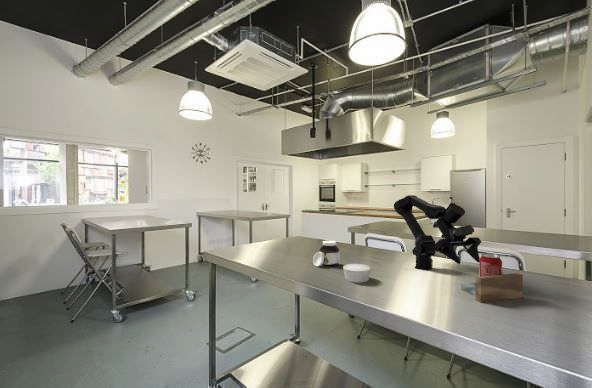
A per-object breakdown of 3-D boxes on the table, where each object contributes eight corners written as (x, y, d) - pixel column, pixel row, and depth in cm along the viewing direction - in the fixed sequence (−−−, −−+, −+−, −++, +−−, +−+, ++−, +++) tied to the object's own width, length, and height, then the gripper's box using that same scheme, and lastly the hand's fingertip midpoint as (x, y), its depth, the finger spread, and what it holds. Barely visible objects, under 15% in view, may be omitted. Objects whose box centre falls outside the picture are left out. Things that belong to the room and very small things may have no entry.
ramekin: (338, 279, 114) (338, 267, 114) (352, 273, 122) (352, 262, 122) (362, 286, 107) (362, 272, 107) (375, 279, 115) (375, 266, 115)
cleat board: (453, 290, 102) (453, 268, 102) (491, 286, 106) (492, 265, 106) (480, 302, 91) (480, 278, 91) (522, 297, 95) (522, 274, 95)
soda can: (501, 293, 94) (501, 258, 94) (478, 288, 98) (478, 255, 98) (502, 287, 99) (502, 254, 99) (480, 283, 103) (480, 252, 103)
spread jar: (341, 264, 137) (341, 241, 137) (332, 270, 128) (332, 245, 128) (320, 261, 144) (320, 239, 144) (310, 266, 134) (310, 242, 134)
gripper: (439, 218, 108) (462, 252, 98) (477, 217, 113) (503, 250, 102) (425, 235, 116) (445, 268, 106) (461, 233, 120) (484, 265, 110)
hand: (469, 262), depth 106 cm, fingers open, 9 cm apart
